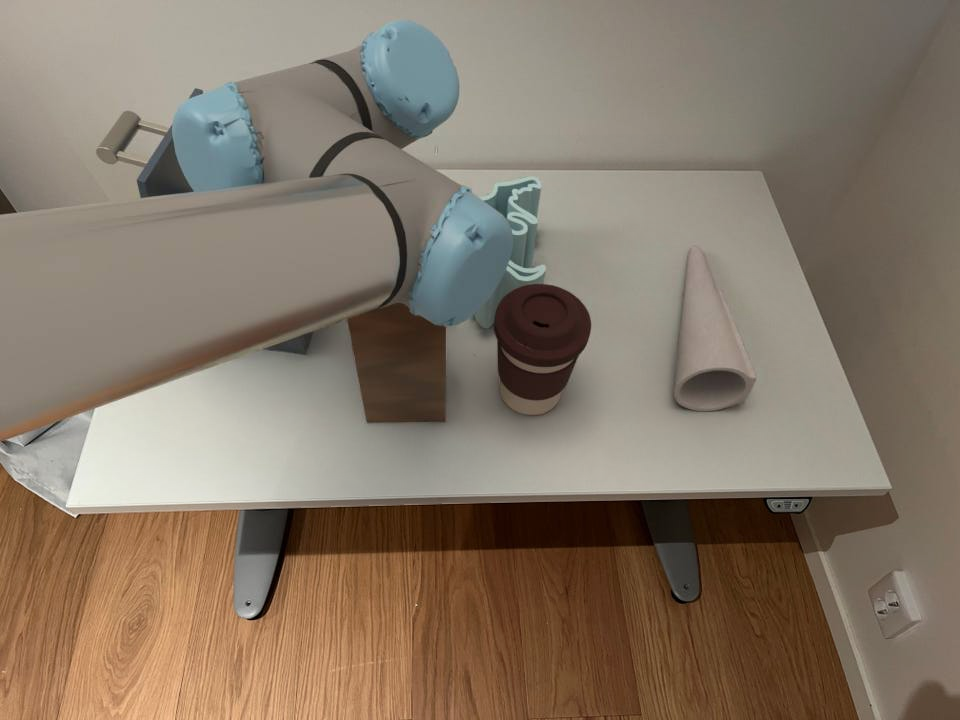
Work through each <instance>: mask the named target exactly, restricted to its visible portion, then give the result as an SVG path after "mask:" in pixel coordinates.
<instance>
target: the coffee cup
mask: <svg viewBox="0 0 960 720" xmlns="http://www.w3.org/2000/svg"><path fill="white" fill-rule="evenodd" d="M493 332H494V335H495V339H496V341H497V342H496V345H497V346H496V347H497V350H496V351H497V353H496V355H497V359H496V360H497V374H498V378H499V393H500V396H501V398H502V400H503V402H504V403H505V404H506V405H507V406H508V407H509V408H510V409H511V410H513V411H515V412H516V413H519V414H522V415H526V416H527V415H528V416H538V415H542V414H545V413H548V412H549V411H551V410H552V409H554V407H556V405H557V404H558V402H559V401H560V399H561V396H562V393H563V392H564V389H565V388H566V386H567V385H568V383H569V381H570V378H571V376H572V373H573V371H574V369H575V366H576V364H577V361H578V359H579V356H580V355H581V354H582V353H583V351H584V350H585V348H586V346H587V345H588V343H589V340H590V336H591V332H592V320H591V315H590V312H589V311H588V308H587V307H586V305H585V304H584V303H583V302H582V300H581V299H580V298H578V297H577V296H576V295H574V294H573V293H572V292H570V291H569V290H567V289H564V288H562V287H559V286H557V285H553V284H547V283H543V284H531V285H526V286H522V287H519V288H517V289H514V290H513V291H511V292H509V293H508V294H507V295H506V296H505V297H504V298H503V299H502V300H501V301H500V303H499V304H498V306H497V309H496V312H495V318H494V323H493Z"/></svg>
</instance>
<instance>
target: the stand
mask: <svg viewBox="0 0 960 720" xmlns="http://www.w3.org/2000/svg"><path fill="white" fill-rule="evenodd" d="M346 322H347V326H348V333H349V338H350V343H351V348H352V354H353V359H354V364H355V369H356V374H357V380H358V386H359V391H360V395H361V402H362V406H363V412H364V418H365V423H366V424H404V423H415V424H416V423H447V327H445V326H443V325H442V326H439V325H435V324H433V323H432V322H430V321H428V320H427V319H425V318H424V317H422V316H420V315H413V314H412V313H411V312H410V309H409V308H408V307H407V306H406V305H405V304H403V303H395V304H392V305H389V306H386V307H384V308H380V309H376V310H374V311H370V312H366V313H363V314H360V315H357V316H354V317H351V318H349V319H346Z"/></svg>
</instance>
